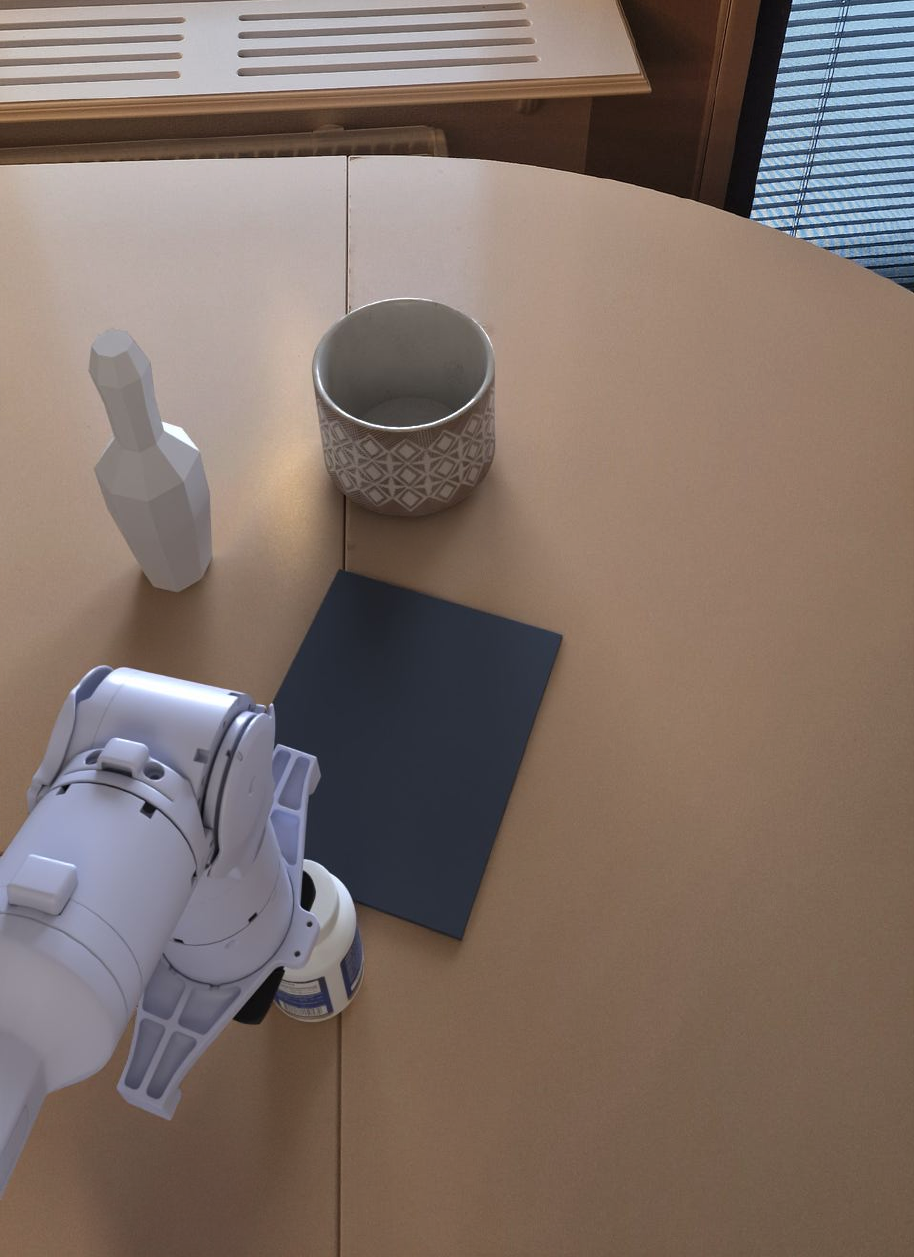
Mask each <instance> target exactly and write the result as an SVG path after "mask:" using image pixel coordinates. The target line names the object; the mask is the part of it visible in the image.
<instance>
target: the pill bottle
mask: <svg viewBox="0 0 914 1257" xmlns="http://www.w3.org/2000/svg"><path fill="white" fill-rule="evenodd" d="M303 870H304V871H305V872H307V873H308V874H309V875H310V876H311V878H312V880H313V882H314V885H315V889H316V897H315V900H314V903H313V905H312V908H311V910H310V913H312V914H314V915H315V916H316V917H317V919H318V922H319V925H320V933H319V936H318V939H317V941H316V944H315V946H314V949H313V951H312V954H311V956H310V959H309V961H308V962H307V964H306V965H305V967H303V968H301V969H299V970H296V969H291V968H288V967H284V970H285V973H284V976H283V978H282V981H281V983H280V985H279V988H278V990H277V993H276V995H275V998H274V1000H273V1003H274V1004H275V1005H276V1006H277V1008H278V1009H279V1010H280V1011H282V1012H283V1014H285V1015H287V1016H288V1017H290V1018H292V1019H294V1020H296V1021H301V1022H306V1023H317V1022H323V1021H326V1020H330V1019H332V1018H334V1017H335V1016H337V1015H339V1014H340V1013H341V1012H342V1011H344V1010H345V1009H346V1008H347V1007H348V1006H349V1005H350V1004H351V1003H352V1002H353V1000H354V998H355V997H356V996H357V994H358V992H359V990H360V988H361V985H362V984H363V983H362V982H363V979H364V974H365V954H364V949H363V944H362V938H361V933H360V928H359V922H358V918H357V912H356V909H355V904H354V902H353V901H352V898H351V896H350V894H349V892H348V890H347V889H346V887H345V886H344V885H343V883H342V882H341V881H340V880H339V879H338V878H336V877H335V876H334V875H332V874H330V873H329V872H328V871H327V870H326V869H325V868H324V867H323V866H322V865H320V864H318V863H316V862H314V861H311V860H305V859H304V860H303ZM298 957H299V956H298Z"/></svg>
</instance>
